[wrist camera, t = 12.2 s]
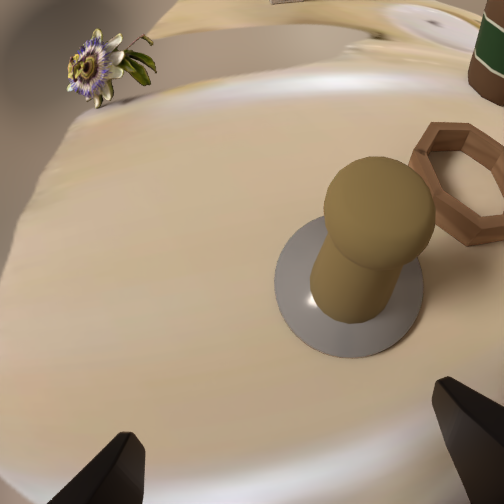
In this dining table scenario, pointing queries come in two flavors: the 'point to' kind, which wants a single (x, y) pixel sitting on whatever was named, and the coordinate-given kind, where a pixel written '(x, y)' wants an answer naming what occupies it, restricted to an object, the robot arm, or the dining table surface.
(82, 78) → the passion flower
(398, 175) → the cork
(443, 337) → the dining table surface
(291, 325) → the slate coaster
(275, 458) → the dining table surface
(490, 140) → the guard ring
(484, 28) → the beer bottle
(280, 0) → the coffee box
